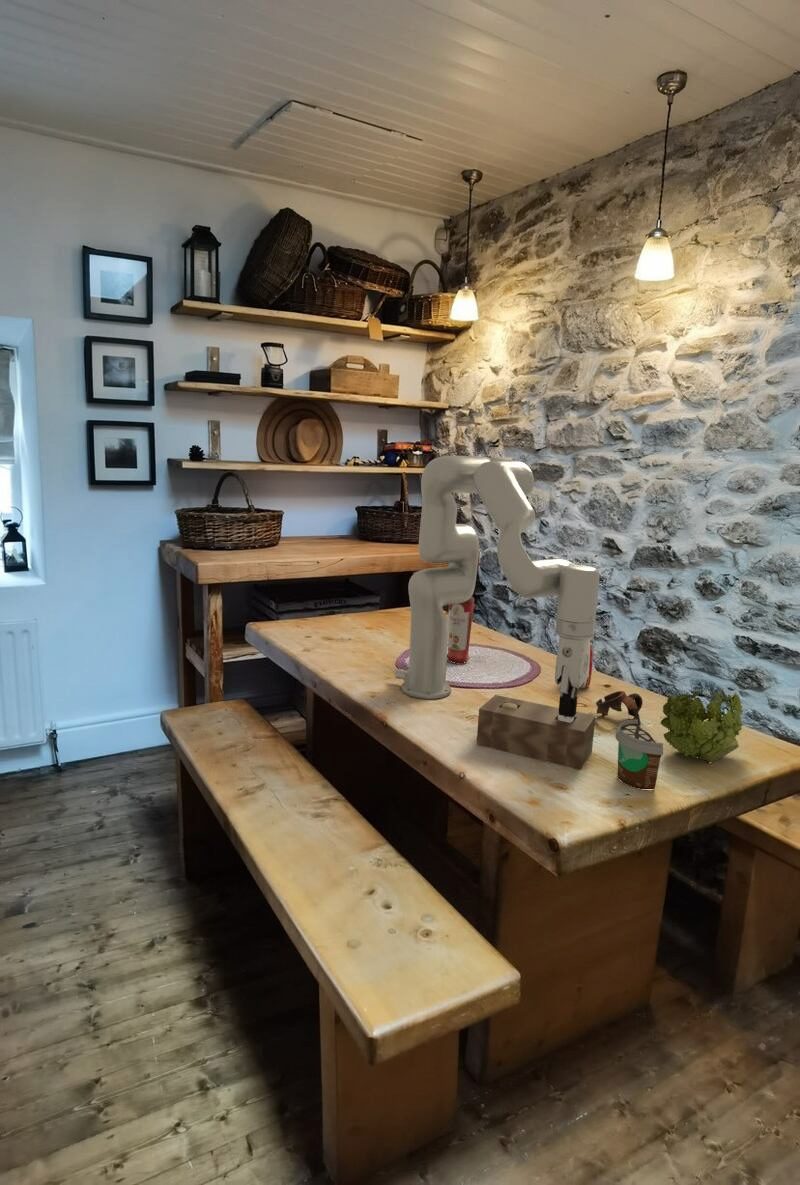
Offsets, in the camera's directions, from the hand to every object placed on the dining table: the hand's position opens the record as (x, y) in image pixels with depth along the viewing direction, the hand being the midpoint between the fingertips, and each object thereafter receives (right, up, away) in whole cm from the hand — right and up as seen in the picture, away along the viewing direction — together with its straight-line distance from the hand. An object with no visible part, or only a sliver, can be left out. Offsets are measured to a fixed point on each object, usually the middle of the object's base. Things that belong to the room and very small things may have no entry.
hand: (567, 714), depth 144 cm
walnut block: (-6, -8, +5) cm, 11 cm away
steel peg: (0, -7, +2) cm, 7 cm away
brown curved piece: (+18, -6, +22) cm, 29 cm away
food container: (+10, -11, -8) cm, 17 cm away
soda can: (+13, 0, +46) cm, 48 cm away
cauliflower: (+29, -9, +6) cm, 31 cm away
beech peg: (-11, -6, +7) cm, 14 cm away
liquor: (-17, +5, +62) cm, 65 cm away
